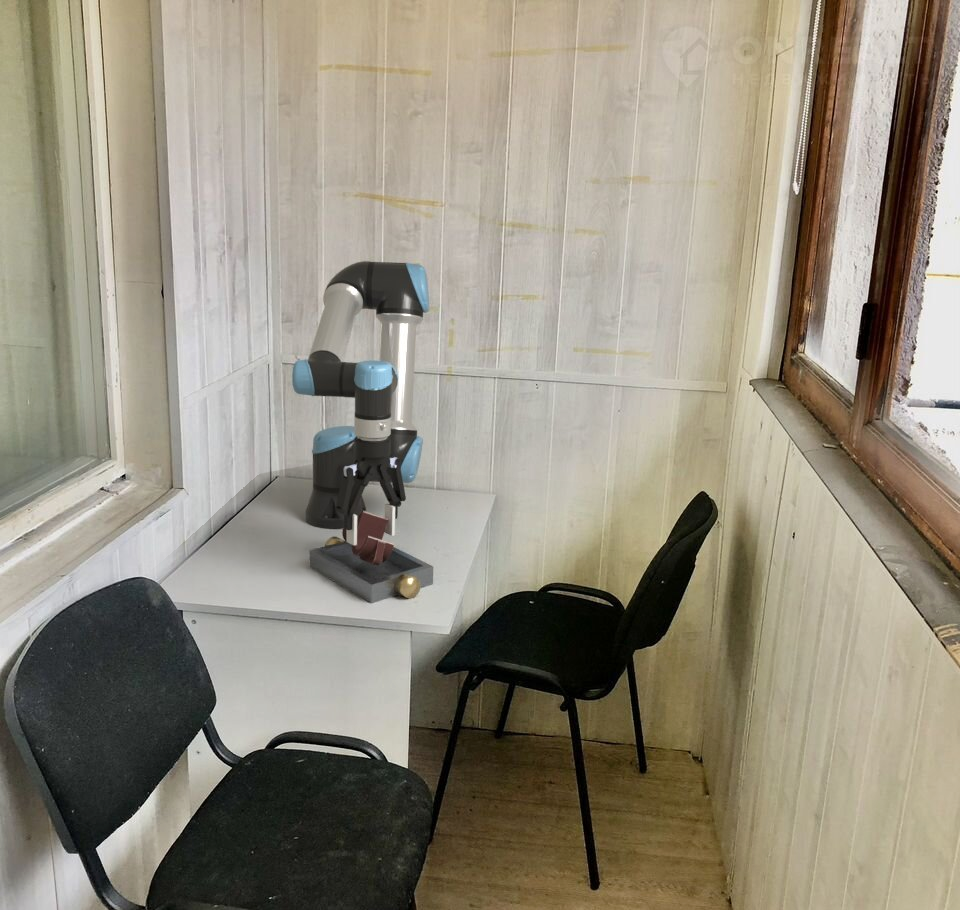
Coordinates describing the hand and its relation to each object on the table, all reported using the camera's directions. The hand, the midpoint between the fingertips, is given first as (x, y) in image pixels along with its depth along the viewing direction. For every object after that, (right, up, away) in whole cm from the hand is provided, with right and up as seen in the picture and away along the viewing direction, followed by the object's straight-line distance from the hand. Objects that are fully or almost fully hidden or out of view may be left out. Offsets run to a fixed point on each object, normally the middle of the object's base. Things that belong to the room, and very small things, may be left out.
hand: (370, 538), depth 196 cm
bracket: (-1, -4, +1) cm, 4 cm away
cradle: (0, -8, +2) cm, 9 cm away
